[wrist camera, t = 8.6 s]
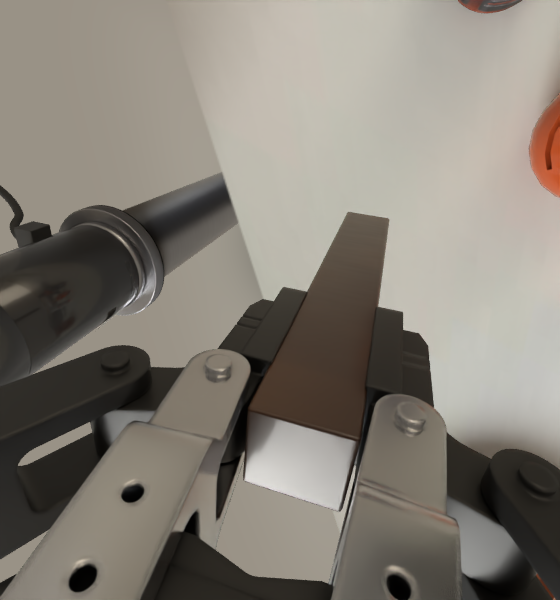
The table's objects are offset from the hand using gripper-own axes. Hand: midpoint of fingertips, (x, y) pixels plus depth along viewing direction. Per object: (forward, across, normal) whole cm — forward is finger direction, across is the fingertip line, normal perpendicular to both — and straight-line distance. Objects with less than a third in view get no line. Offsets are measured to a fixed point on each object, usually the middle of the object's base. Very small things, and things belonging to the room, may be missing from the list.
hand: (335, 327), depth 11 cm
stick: (+9, 0, 0) cm, 9 cm away
